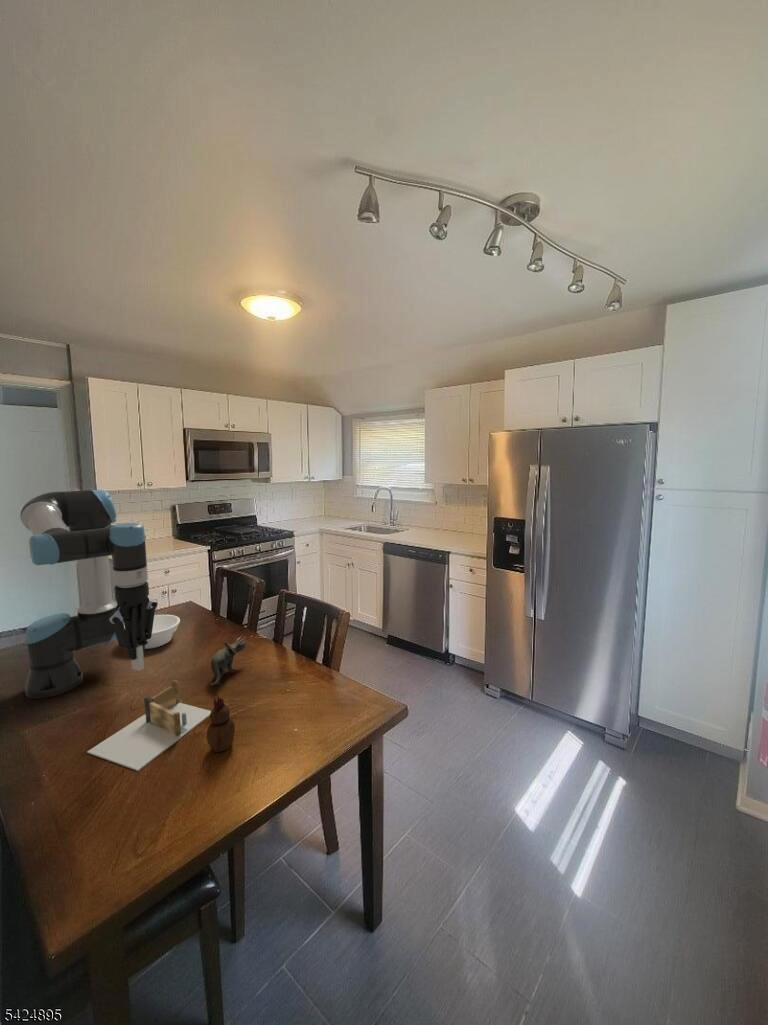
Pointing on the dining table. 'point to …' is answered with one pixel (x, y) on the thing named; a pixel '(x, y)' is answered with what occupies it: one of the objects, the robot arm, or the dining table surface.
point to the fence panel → (165, 718)
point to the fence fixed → (163, 699)
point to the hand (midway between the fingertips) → (138, 668)
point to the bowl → (162, 630)
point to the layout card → (146, 738)
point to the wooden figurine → (220, 727)
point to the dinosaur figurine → (225, 659)
